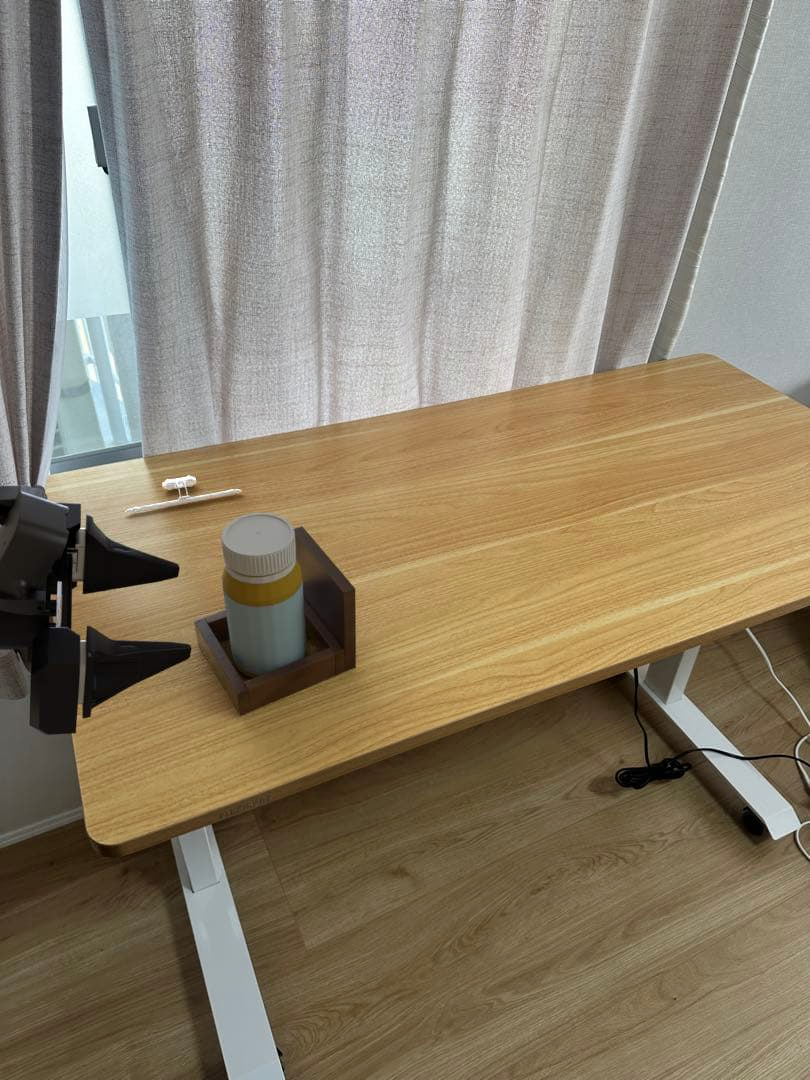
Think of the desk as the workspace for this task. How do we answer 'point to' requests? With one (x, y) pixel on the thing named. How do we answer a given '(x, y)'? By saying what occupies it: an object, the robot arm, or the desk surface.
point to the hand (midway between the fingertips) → (184, 608)
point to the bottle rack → (324, 626)
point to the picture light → (180, 483)
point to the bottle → (263, 593)
